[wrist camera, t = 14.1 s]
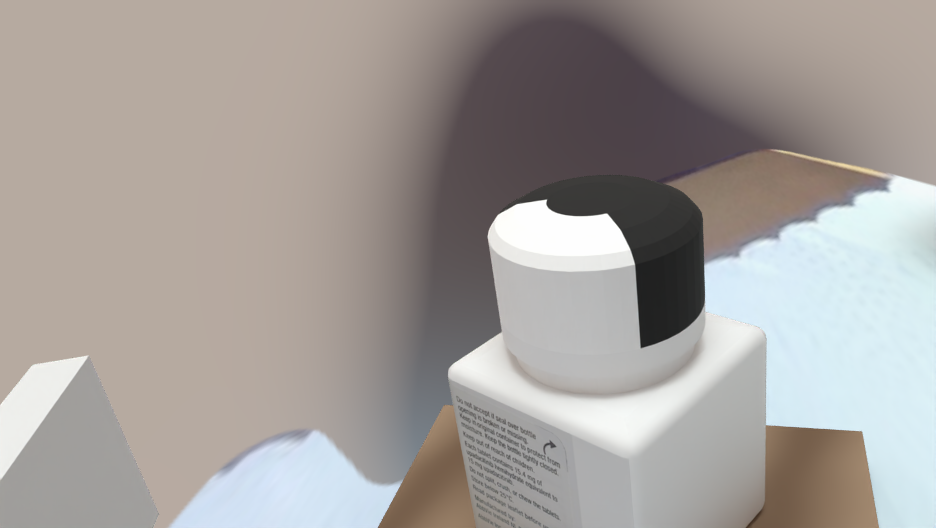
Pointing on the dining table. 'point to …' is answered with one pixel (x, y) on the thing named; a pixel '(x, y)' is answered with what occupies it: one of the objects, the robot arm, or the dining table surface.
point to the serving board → (777, 524)
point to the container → (610, 370)
